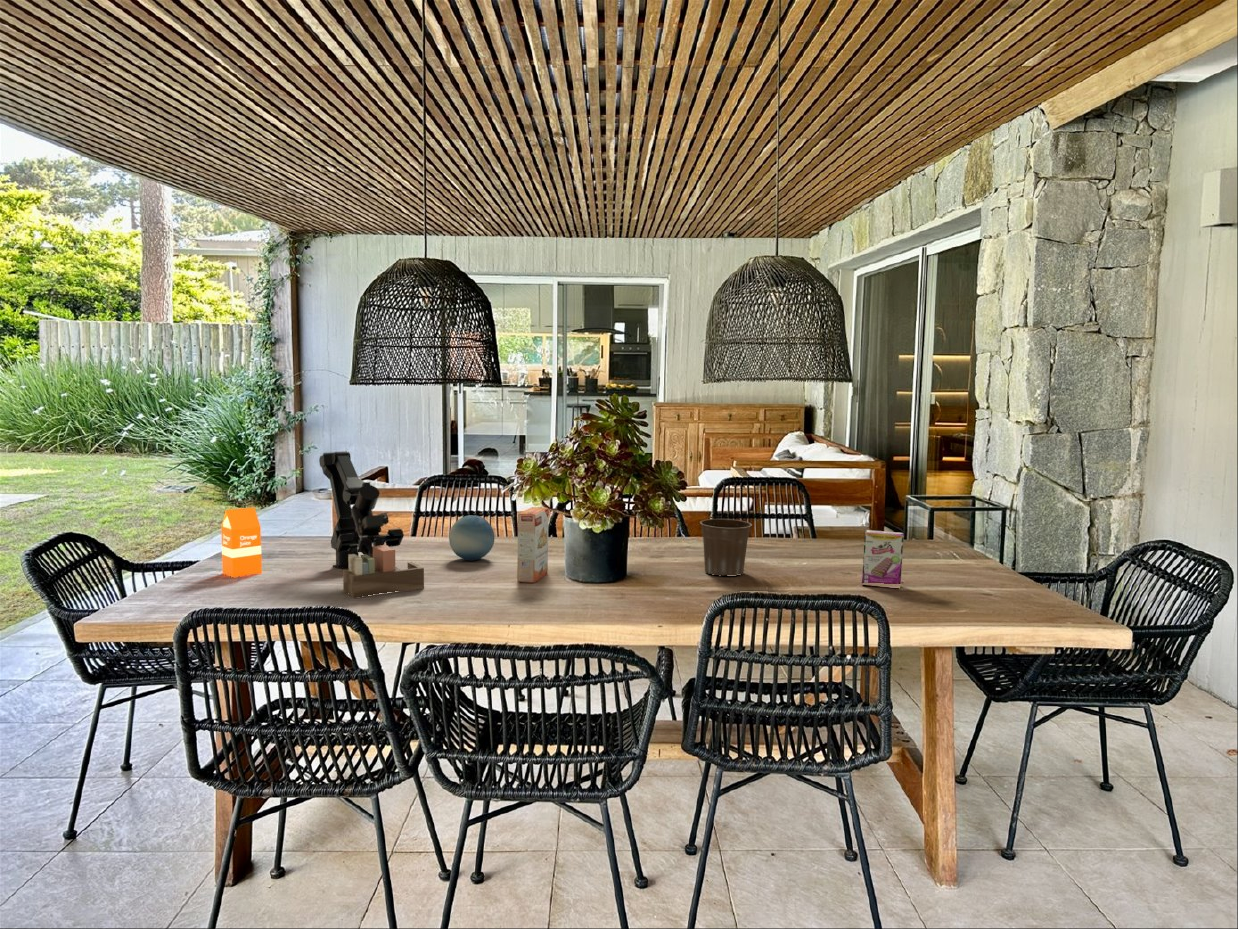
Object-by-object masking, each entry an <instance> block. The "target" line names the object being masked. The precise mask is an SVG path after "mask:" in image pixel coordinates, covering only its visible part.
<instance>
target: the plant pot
mask: <svg viewBox="0 0 1238 929" xmlns="http://www.w3.org/2000/svg"><path fill="white" fill-rule="evenodd" d="M699 523H700V525H701V534H702V537H703V538H702V539H703V542H702V543H703V559H704V571H705V573H706V574H707V573H708V575H709V574H714V575H722V576H725V575H737V574H742V575H743V574H744V572H745V570H744V569H745V562H746V555H747V548H748V540H749V537H750V533H751V528H752V526H753V524H752V523H751V522H748V521H744V520H739V519H730V518H709V519H703V520H701V521H699Z"/></svg>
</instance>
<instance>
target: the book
mask: <svg viewBox="0 0 1238 929" xmlns="http://www.w3.org/2000/svg"><path fill="white" fill-rule="evenodd" d="M372 547H373V558H374V561H375V570H376V571H378V572H379V573H380V572H388V571H395V567H396V549H394V548H392V547H389V546H387V545H386V544H384V545H380V546H373V545H372Z"/></svg>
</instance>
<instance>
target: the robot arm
mask: <svg viewBox="0 0 1238 929" xmlns="http://www.w3.org/2000/svg"><path fill="white" fill-rule="evenodd" d="M350 453H351V452H349V451H345V450H344V451H334V452H323V453H322V455H320V457H319V460H318V461H319V467H321V470H322V473H323V475H324V476H325V477H326V478H327V479H328V480H329V482H330V487H331V493H332V498H333V502H334V508H335V513H336V519H337V521H336V523H335V525H334V528H333V532H332V536H331V540H330V547H331V548H332V549H334V550H335V564H333V565H332V568H338V569H344V570H346V569H348V570H349V562H348V554H355V555H357V556H359V555H360V554H359V553H361V554H362V555H365V554H366V555H368V556H370V557H372V558H373V546H380V545H386V546H388V547H390V548H392V547H399V546H400V545H401V543H402V541H403V538H404V536H405V534H404V531H403V530H402V529H401V528H392V529H391V528H390V529H388V531H387V532H386V534H380V533H382V527H383V526H384V525H385V526H386V525H387V524H389V516H388V514H387V512H382V513H380V514H375V515H374V512H373V510H374V509H375V508H376V505H377V502H378V500H379V496H380V490H379V489H378V488H377V487H376V486H375V485H374V486H373V485H372V484H371V483H370V482H368V481H367V482H366V481H364V480H362V479H360V478H359V475H358V473H357V470H356V468H355V466H354V464H353V462H352V460H351V459H352V458H351V454H350ZM352 505H353V506H352ZM359 557H360V556H359Z"/></svg>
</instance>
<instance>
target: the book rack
mask: <svg viewBox="0 0 1238 929" xmlns="http://www.w3.org/2000/svg"><path fill="white" fill-rule="evenodd" d="M348 562H349V569H343V570H342V579H343V580H342V583H343V584H342V585H343V590H344V591H346V592H347V593H349V594H350V595H351V596H352V597H351V596H350V595H349V594H348V595H349V596H350V597H351V598H353V599H358V598H357V597H360V598H363V597H362V596H368V595H373V594H379V593H387V592H395V591H404V592H409V590H411V591H416V589H418V590H423V589H425V569H424V568H425V567H422V566H421V565H418V564H417V563H415V562H413V561H407V569H401V568H398V567H396V566H395V571H388V572H380V573H379V572H378V571H376V570H375V561H374V558H372V557H370V556H368V555H366V554H365V555H364V554H360V556H357V555H355V554H348ZM344 591H343V592H344ZM346 592H345V593H346ZM347 593H346V594H347ZM368 597H369V596H368Z"/></svg>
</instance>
